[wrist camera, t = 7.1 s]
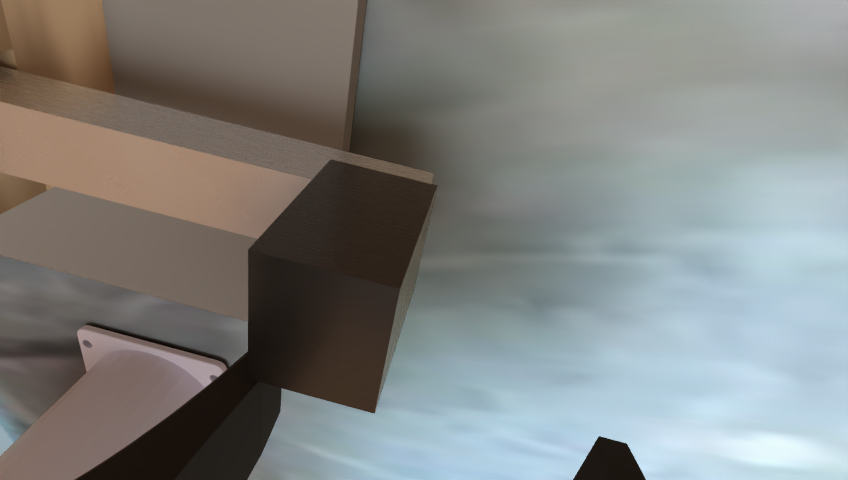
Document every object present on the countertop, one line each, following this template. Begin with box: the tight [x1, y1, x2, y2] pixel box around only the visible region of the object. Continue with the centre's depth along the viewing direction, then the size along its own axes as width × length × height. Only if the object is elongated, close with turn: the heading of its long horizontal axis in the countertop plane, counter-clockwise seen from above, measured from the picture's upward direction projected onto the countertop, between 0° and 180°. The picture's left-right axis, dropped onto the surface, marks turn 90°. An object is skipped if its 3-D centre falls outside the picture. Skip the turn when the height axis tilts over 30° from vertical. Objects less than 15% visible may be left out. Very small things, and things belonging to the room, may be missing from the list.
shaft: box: [0, 66, 437, 413], centre depth 11 cm, size 3×15×6 cm, turn 79°
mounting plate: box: [0, 0, 367, 321], centre depth 18 cm, size 20×18×1 cm
